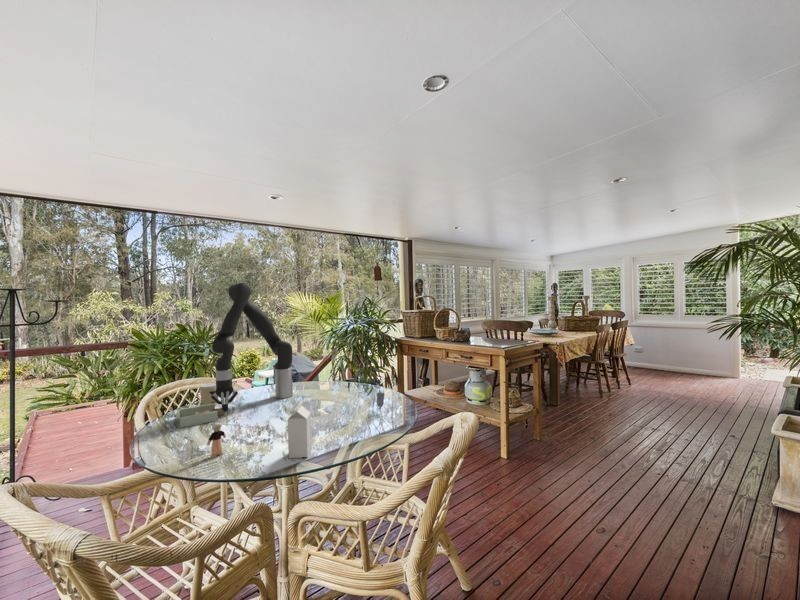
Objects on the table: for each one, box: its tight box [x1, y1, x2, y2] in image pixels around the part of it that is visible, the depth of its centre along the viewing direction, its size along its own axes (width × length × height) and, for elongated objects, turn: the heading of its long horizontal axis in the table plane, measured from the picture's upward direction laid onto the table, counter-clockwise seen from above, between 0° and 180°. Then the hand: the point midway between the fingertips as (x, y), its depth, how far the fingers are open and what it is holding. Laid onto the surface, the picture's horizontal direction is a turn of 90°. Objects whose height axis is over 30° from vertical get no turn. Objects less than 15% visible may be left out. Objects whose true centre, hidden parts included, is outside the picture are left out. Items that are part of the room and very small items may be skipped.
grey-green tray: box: [176, 403, 219, 429], centre depth 176 cm, size 17×15×4 cm
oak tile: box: [195, 410, 209, 415], centre depth 178 cm, size 6×6×3 cm
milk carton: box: [287, 402, 312, 459], centre depth 136 cm, size 7×7×19 cm
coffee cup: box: [199, 382, 219, 407], centre depth 197 cm, size 9×9×12 cm
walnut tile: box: [209, 407, 224, 417], centre depth 183 cm, size 6×6×3 cm
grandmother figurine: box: [206, 421, 227, 459], centre depth 137 cm, size 8×4×13 cm, turn 164°
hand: (225, 411), depth 183 cm, fingers closed
